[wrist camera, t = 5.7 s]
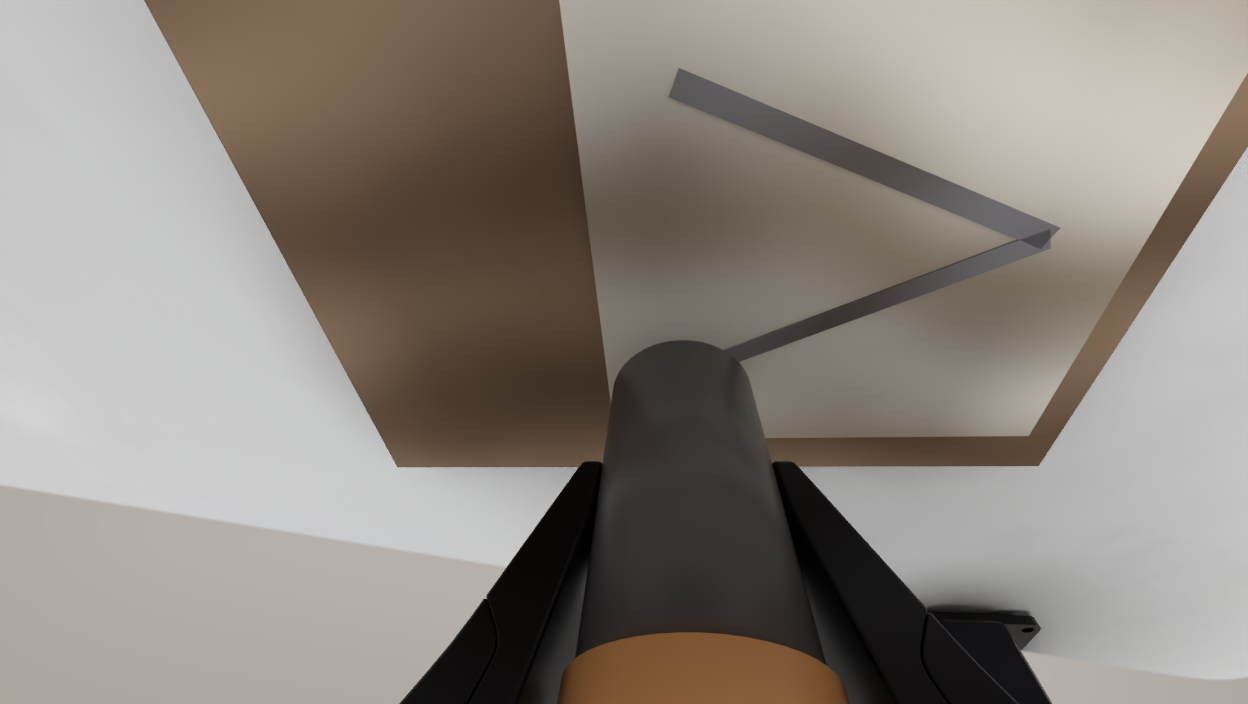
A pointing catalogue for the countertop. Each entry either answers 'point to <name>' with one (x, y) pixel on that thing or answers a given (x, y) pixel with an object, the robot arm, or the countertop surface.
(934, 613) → the robot arm
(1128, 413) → the countertop surface
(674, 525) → the black and orange cylinder
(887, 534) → the countertop surface
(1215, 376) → the countertop surface
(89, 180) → the countertop surface
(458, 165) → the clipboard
